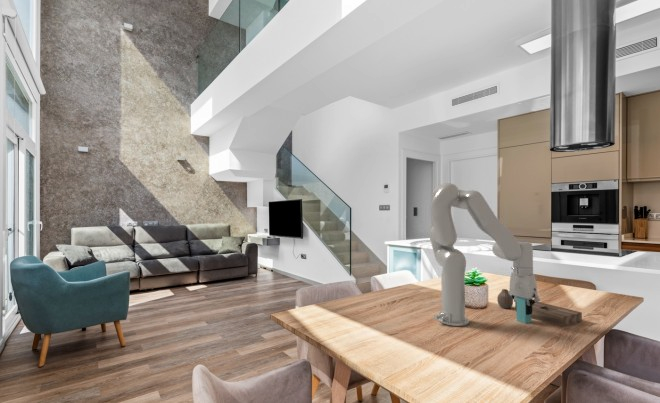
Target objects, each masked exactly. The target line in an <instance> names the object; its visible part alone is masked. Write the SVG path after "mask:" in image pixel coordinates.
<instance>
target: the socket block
mask: <svg viewBox="0 0 660 403" xmlns="http://www.w3.org/2000/svg"><path fill="white" fill-rule="evenodd" d="M582 315H583V313H582V312H581V311H578V310H575V309H570V308H566V307H565V308H564V307H561V306H557V305H553V304H550V303H546V302H545V303H544V302H541V301H538V302H536V303H534V305H532V314H531V319H534V320H538V321H540V322H544V323H546V324H547V323H548V324H551V325H554V326H557V327H561V328H564V327H565V328H566V327H568V326H571V325H575V324H579V323H582V322H583V319H582V318H583V316H582Z"/></svg>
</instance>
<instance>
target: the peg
mask: <svg viewBox="0 0 660 403" xmlns="http://www.w3.org/2000/svg"><path fill="white" fill-rule="evenodd" d="M526 305H527V301H526V298H521V297H517V296H516V308H515V311H516V310H517V312H516V322H520V323H523V324H529V323H532V318H531V314H530V315H526Z"/></svg>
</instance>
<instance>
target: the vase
mask: <svg viewBox="0 0 660 403" xmlns="http://www.w3.org/2000/svg"><path fill="white" fill-rule="evenodd" d="M508 292H509V290H508V289H507V288H506V289H505V288H502V289H501V291H500V292H499V293H498V295H497V298H496V299H497V300H496V301H497V304H498V305H499V307H500V308H502V309H505V310H506V309H511V308H512V307H513V305H514V299H513V298H512V296H510V295H509V294H508Z"/></svg>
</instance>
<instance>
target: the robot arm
mask: <svg viewBox="0 0 660 403" xmlns="http://www.w3.org/2000/svg"><path fill="white" fill-rule="evenodd" d="M432 197H433V198H432V200H431V204H430V210H429V211H430V219H431V222H432V227H431V228H430V230H429V240H430V243H431V244H430V245H431V247H432V251H433V255H434V258H435V260H436V262H437V263H438V265H440V266H442V269H441V270H442V271H441V281H440V282H441V310H440V311H439V313H438V314H437V313H436V314H434V315H433V319H434V320H438V321H439V322H440V323H441V324H444V325H447V326H452V327H453V326H454V327H463V326H464V327H465V326H468V324H470V320H469V318H468V317H466V295H465V294H466V291H465V290H466V289H465V288H466V286H465V284H466V283H465V281H466V280H465V277H466V276H465V275H466V267H467V260H466V257H465V254H464V253H463V252H462V251H461V250H459V249H457V248H455V247H454V244H456V242H457V240H458V234H457V231H456V227H455V223H454V220H453V216H452V207H454V208H458V209H461V210H467V212H468V214H469V215H470V216H471V218H472V219H473V221H474V223H475V224H476V226H477V228H478V229H479V230H481V231H482V232H483V233H485V234H486V235H488V236H489V237H490V238H491V239H492V240H493V241H494V242H495V243H494V244H493V245H492V248H491V251H492V253H493V254H494V256H496V257H497V258H500V259H503V260H507V261H510V262H512V265H511V267H510V269H511V270H512V272H511V273H510V279H509V286H508V287H509V290H508V294H509V295H510V296H512V298H513V303H514V304H515V307H514V308H515V312H516V313H517V310H516V296H517V297H521V298H526V301H527V305H526V315H530V314H532V305H534V303H536V302H541V298H540V297H539V295H538V286H537V280H536V276H535V274H534V246H533V244H532V243H531V242H528V241H518V240H517V239H516V237H515V236H514V234H513V233H512V232H511V231H510V230H509V228H508V227H506V226H505V225H504V224H503V223H502V221H501V220H500V219H499V218H497V216H496V215H495V213H494V211H493V210H492V208H491V207H490V205H489V204H488V202H487V201H486V199H485V197H484V195H482V193H481V192H480V191H478V190H474V189H472V190H471V189H470V190H462V189H459V187H458V186H457V185H455V184H453V183H444V184H439V185H437V186H436V187H434V189H433V191H432Z"/></svg>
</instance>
